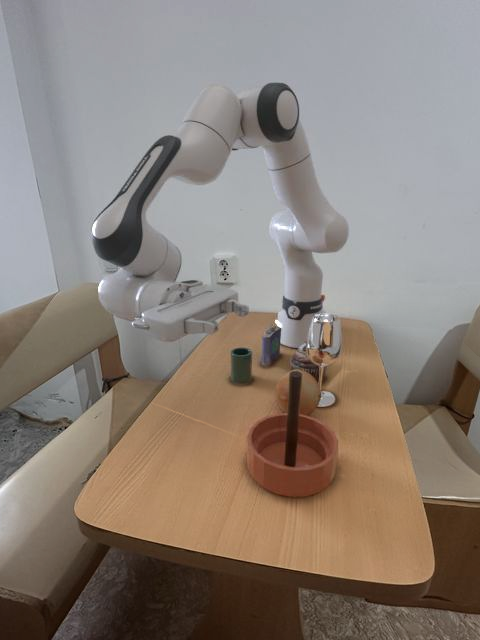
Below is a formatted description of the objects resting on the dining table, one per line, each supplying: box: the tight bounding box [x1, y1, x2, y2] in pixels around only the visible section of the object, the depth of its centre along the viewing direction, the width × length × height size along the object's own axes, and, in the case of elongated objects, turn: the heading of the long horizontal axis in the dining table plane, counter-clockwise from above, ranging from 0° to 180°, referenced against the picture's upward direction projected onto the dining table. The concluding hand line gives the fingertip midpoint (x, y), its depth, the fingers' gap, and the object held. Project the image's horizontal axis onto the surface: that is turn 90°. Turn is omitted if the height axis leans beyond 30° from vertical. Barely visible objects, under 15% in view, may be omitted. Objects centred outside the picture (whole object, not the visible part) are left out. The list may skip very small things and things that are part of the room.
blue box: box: [261, 323, 281, 367], centre depth 103 cm, size 9×3×11 cm, turn 151°
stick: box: [284, 370, 302, 467], centre depth 62 cm, size 2×2×18 cm
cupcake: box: [290, 342, 329, 383], centre depth 94 cm, size 10×10×10 cm
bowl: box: [246, 412, 339, 498], centre depth 65 cm, size 15×15×6 cm
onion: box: [274, 369, 322, 416], centre depth 80 cm, size 10×10×10 cm
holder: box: [230, 347, 253, 384], centre depth 93 cm, size 5×5×8 cm
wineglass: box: [305, 312, 343, 408], centre depth 83 cm, size 8×8×20 cm
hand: (232, 319), depth 62 cm, fingers open, 8 cm apart
